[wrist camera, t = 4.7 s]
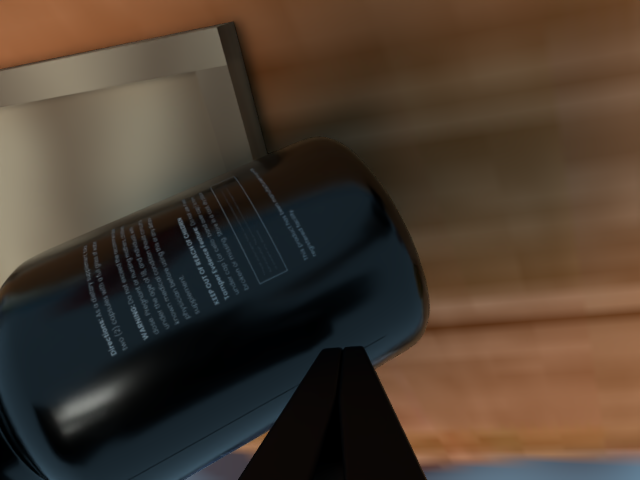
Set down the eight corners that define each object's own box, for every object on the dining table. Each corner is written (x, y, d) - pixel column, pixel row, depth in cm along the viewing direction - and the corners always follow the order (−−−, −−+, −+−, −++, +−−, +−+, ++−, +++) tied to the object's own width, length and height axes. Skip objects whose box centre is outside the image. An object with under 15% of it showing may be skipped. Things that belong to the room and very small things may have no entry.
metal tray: (233, 21, 13) (216, 27, 12) (307, 311, 19) (302, 340, 18) (-158, 101, 16) (-213, 114, 14) (15, 335, 22) (-11, 362, 20)
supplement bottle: (302, 162, 16) (-34, 304, 14) (353, 88, 9) (-289, 341, 7) (377, 325, 16) (62, 495, 14) (480, 365, 10) (-98, 711, 7)
